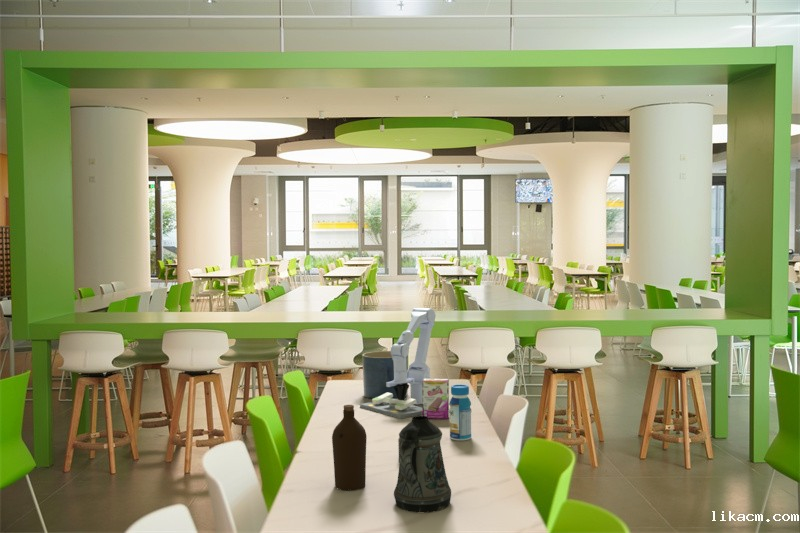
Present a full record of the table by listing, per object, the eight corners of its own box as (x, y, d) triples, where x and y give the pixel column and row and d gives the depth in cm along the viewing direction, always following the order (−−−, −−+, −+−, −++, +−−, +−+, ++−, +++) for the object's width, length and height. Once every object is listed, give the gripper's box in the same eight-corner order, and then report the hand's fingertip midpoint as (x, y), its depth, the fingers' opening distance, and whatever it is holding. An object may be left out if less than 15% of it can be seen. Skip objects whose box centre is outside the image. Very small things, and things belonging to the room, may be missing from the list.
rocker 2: (398, 402, 352) (399, 398, 352) (404, 404, 349) (404, 400, 349) (383, 401, 347) (383, 397, 347) (388, 403, 343) (389, 398, 344)
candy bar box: (422, 419, 329) (421, 380, 329) (423, 416, 334) (422, 378, 334) (449, 419, 328) (448, 380, 328) (449, 416, 333) (448, 378, 333)
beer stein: (448, 493, 233) (447, 410, 233) (455, 516, 214) (454, 425, 213) (393, 494, 233) (391, 411, 232) (395, 517, 214) (393, 427, 213)
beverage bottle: (470, 441, 292) (469, 388, 291) (448, 440, 294) (447, 387, 293) (473, 435, 300) (472, 384, 300) (451, 435, 302) (450, 383, 301)
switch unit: (388, 402, 365) (388, 396, 365) (429, 412, 341) (429, 406, 341) (360, 407, 355) (360, 401, 355) (400, 418, 331) (400, 412, 331)
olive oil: (368, 490, 237) (366, 408, 236) (333, 492, 236) (331, 410, 235) (366, 479, 248) (364, 401, 247) (332, 481, 247) (331, 402, 246)
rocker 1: (388, 395, 359) (387, 391, 358) (393, 396, 356) (392, 393, 355) (372, 403, 354) (371, 399, 353) (377, 404, 350) (377, 400, 350)
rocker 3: (411, 401, 345) (410, 397, 345) (416, 402, 342) (416, 398, 342) (395, 408, 340) (394, 405, 340) (401, 410, 337) (400, 406, 337)
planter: (356, 398, 374) (355, 357, 373) (371, 390, 395) (370, 350, 394) (401, 401, 367) (400, 358, 367) (413, 391, 389) (413, 351, 388)
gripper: (407, 367, 357) (408, 396, 358) (381, 371, 348) (382, 401, 349) (417, 369, 352) (417, 399, 352) (391, 373, 343) (392, 404, 343)
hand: (401, 400), depth 350 cm, fingers closed, pressing on rocker 2
